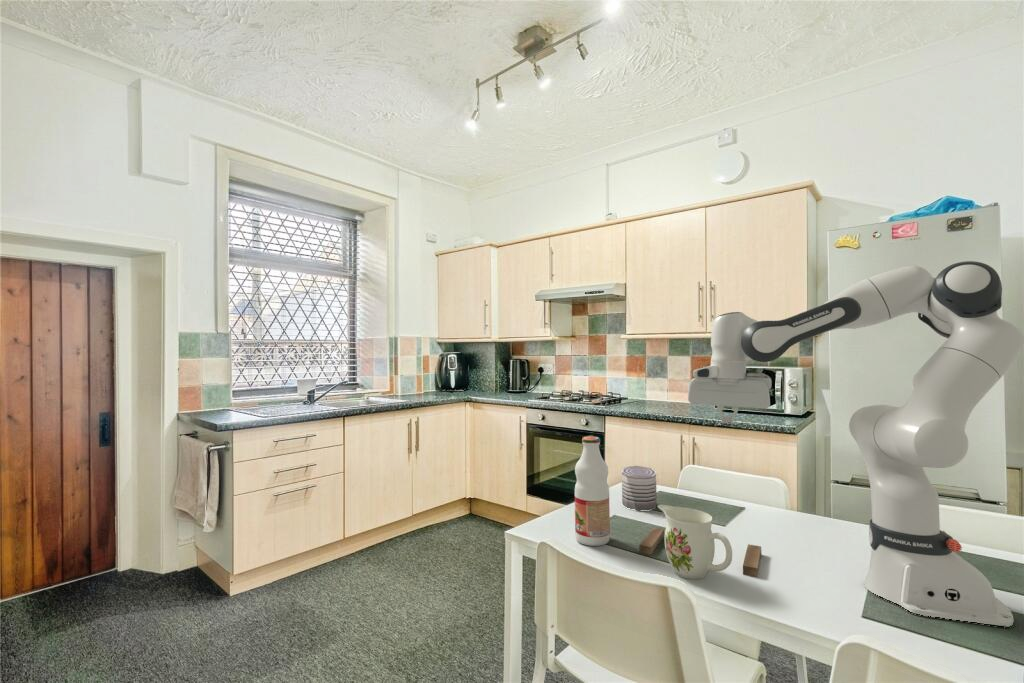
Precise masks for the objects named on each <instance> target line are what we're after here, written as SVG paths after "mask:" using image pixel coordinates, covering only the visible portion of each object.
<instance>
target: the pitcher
mask: <svg viewBox="0 0 1024 683" xmlns="http://www.w3.org/2000/svg"><path fill="white" fill-rule="evenodd" d="M657 508H658V509H659V510H660V511H661V512H662V513H663V514H664V516H665V519H666V522H667V523H666V527H665V529H664V547H665V548H664V549H665V553H666V557H667V560H668V562H669V564H670V566H671V568H672V569H673V571H674V572H675V574H676V575H678V576H679V577H682V578H684V579H685V578H686V579H689V580H700V579H703V578H704V577H706V575H707V574H708V572H721V571H725V570H726V569H727V568H729V566H731V564H732V561H733V549H732V545H731V542H730V540H729V539H728V538H727V537H726V536H725V535H724V534H723V533H721V532H712V525H713V517H712V515H711V514H709V513H707V512H706V511H702V510H699V509H695V508H690V507H683V506H682V507H681V506H674V505H669V504H657ZM715 539H717V540H720V541H721V542H722V544H723V545H724V548H725V559H724V561H723V562H722V563H719V564H714V563H713V562H714V557H715V553H716V552H715V551H716V550H715V548H716V546H715V545H716V544H715V543H716V542H715Z"/></svg>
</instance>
